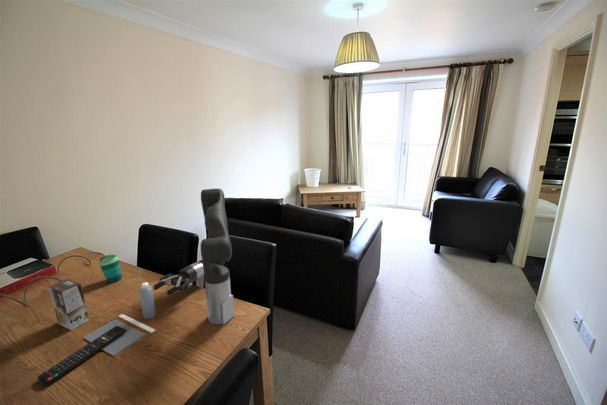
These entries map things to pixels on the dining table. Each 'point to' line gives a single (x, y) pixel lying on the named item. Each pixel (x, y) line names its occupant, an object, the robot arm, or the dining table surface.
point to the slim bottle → (147, 300)
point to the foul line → (136, 323)
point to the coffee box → (69, 303)
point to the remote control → (79, 356)
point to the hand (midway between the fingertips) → (160, 290)
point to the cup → (111, 268)
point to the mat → (119, 342)
